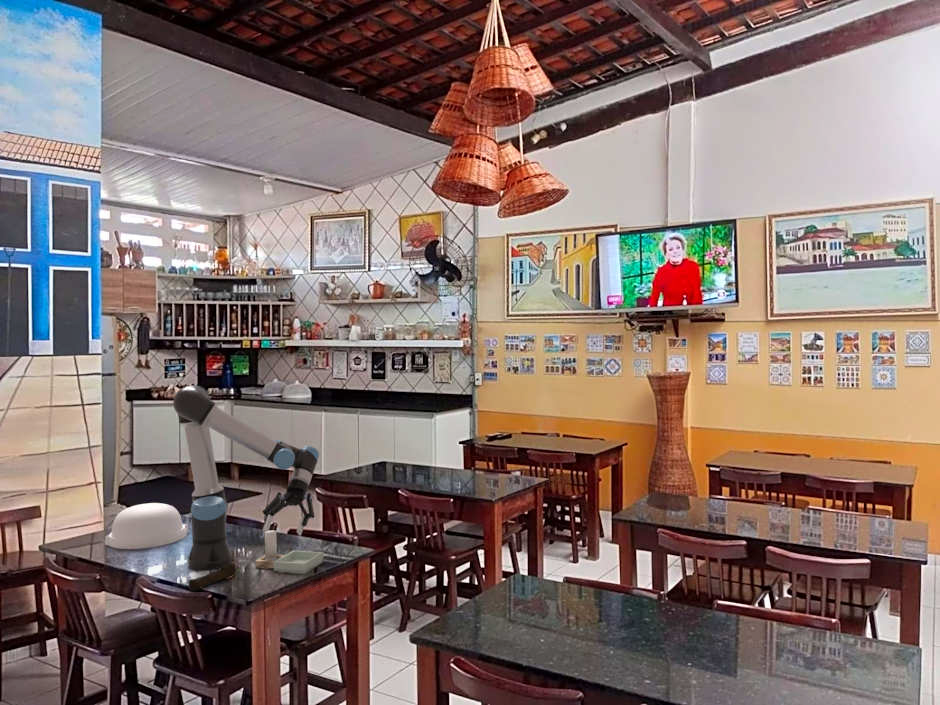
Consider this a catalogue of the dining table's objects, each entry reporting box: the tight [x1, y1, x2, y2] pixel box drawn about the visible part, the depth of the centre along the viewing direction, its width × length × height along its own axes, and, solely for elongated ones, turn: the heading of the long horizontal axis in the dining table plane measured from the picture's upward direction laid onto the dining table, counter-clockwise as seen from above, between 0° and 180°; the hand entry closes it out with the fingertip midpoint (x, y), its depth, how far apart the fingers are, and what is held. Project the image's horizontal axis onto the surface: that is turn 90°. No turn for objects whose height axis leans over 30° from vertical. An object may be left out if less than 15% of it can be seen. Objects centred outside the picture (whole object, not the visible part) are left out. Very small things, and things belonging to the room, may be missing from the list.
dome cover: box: [104, 502, 189, 550], centre depth 308 cm, size 32×30×14 cm
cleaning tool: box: [264, 529, 278, 561], centre depth 268 cm, size 4×4×12 cm
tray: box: [273, 550, 324, 575], centre depth 265 cm, size 12×14×4 cm
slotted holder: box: [254, 554, 286, 569], centre depth 268 cm, size 8×8×2 cm
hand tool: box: [188, 562, 237, 592], centre depth 250 cm, size 19×4×5 cm, turn 150°
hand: (281, 532), depth 272 cm, fingers open, 13 cm apart
